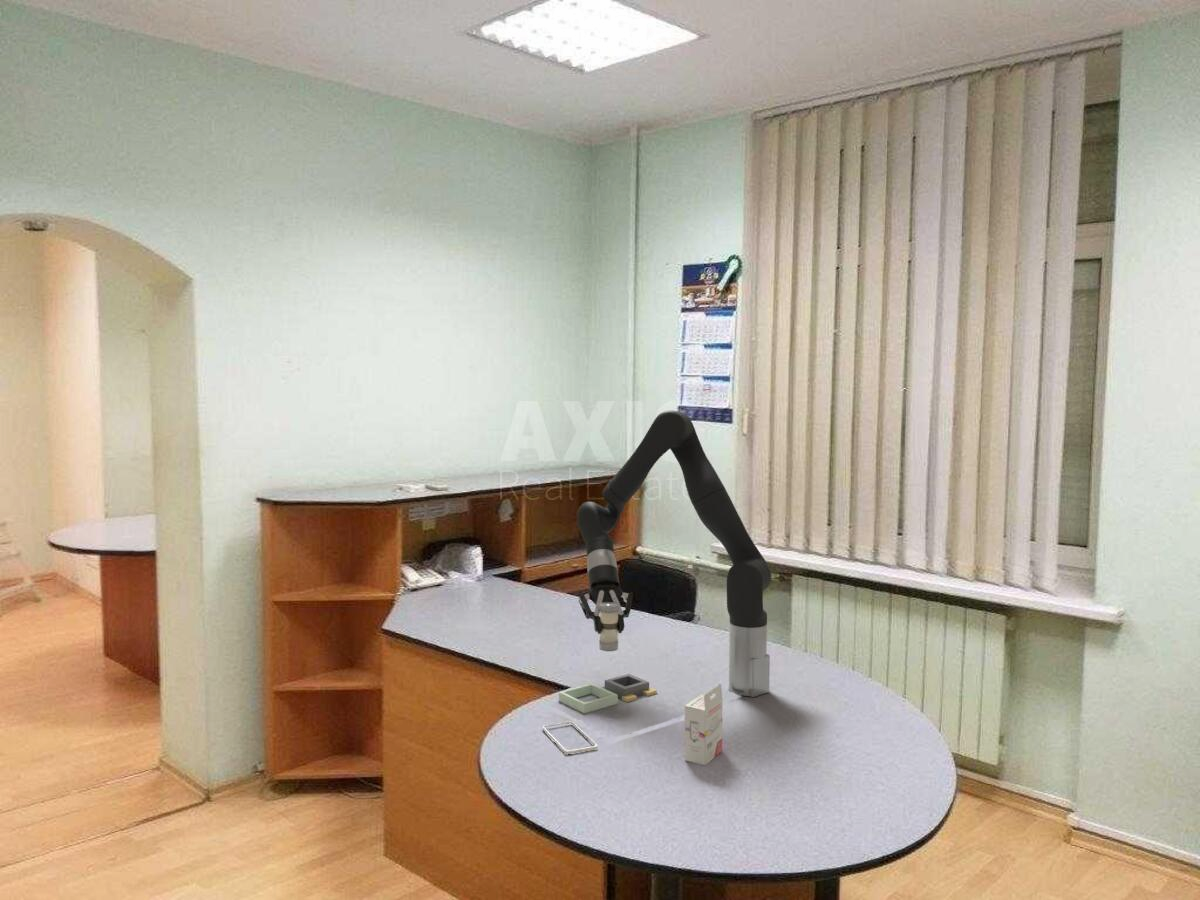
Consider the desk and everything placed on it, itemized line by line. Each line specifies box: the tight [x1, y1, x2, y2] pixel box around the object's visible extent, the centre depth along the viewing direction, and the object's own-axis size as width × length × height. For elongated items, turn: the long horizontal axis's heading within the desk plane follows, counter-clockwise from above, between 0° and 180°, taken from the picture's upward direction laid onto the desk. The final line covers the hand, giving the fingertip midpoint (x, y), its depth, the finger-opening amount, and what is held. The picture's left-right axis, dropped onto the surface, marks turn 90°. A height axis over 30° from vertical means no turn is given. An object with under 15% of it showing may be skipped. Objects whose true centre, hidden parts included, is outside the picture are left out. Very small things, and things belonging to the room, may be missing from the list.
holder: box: [600, 673, 659, 704], centre depth 221 cm, size 12×10×4 cm
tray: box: [558, 683, 619, 714], centre depth 213 cm, size 10×10×3 cm
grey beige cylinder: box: [598, 602, 619, 652], centre depth 217 cm, size 5×5×11 cm
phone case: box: [542, 720, 598, 754], centre depth 194 cm, size 7×1×15 cm
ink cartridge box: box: [684, 683, 724, 766], centre depth 185 cm, size 9×5×15 cm, turn 148°
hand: (610, 631), depth 215 cm, fingers closed on grey beige cylinder, 4 cm apart
